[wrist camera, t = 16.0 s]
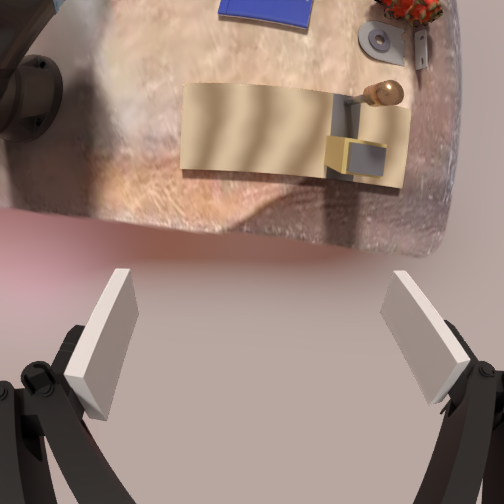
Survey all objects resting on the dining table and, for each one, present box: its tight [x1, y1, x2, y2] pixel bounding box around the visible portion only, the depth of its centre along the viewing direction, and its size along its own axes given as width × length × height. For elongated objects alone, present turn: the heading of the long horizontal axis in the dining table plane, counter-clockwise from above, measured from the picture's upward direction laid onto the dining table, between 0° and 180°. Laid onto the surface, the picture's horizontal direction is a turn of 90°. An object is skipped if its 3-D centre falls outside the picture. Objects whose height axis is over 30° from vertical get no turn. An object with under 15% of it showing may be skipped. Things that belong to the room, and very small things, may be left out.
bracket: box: [358, 21, 427, 70], centre depth 33 cm, size 7×10×4 cm, turn 87°
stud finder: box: [324, 135, 387, 179], centre depth 35 cm, size 5×4×10 cm
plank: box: [180, 83, 411, 188], centre depth 40 cm, size 32×12×1 cm, turn 86°
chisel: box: [344, 80, 404, 107], centre depth 30 cm, size 2×2×15 cm
